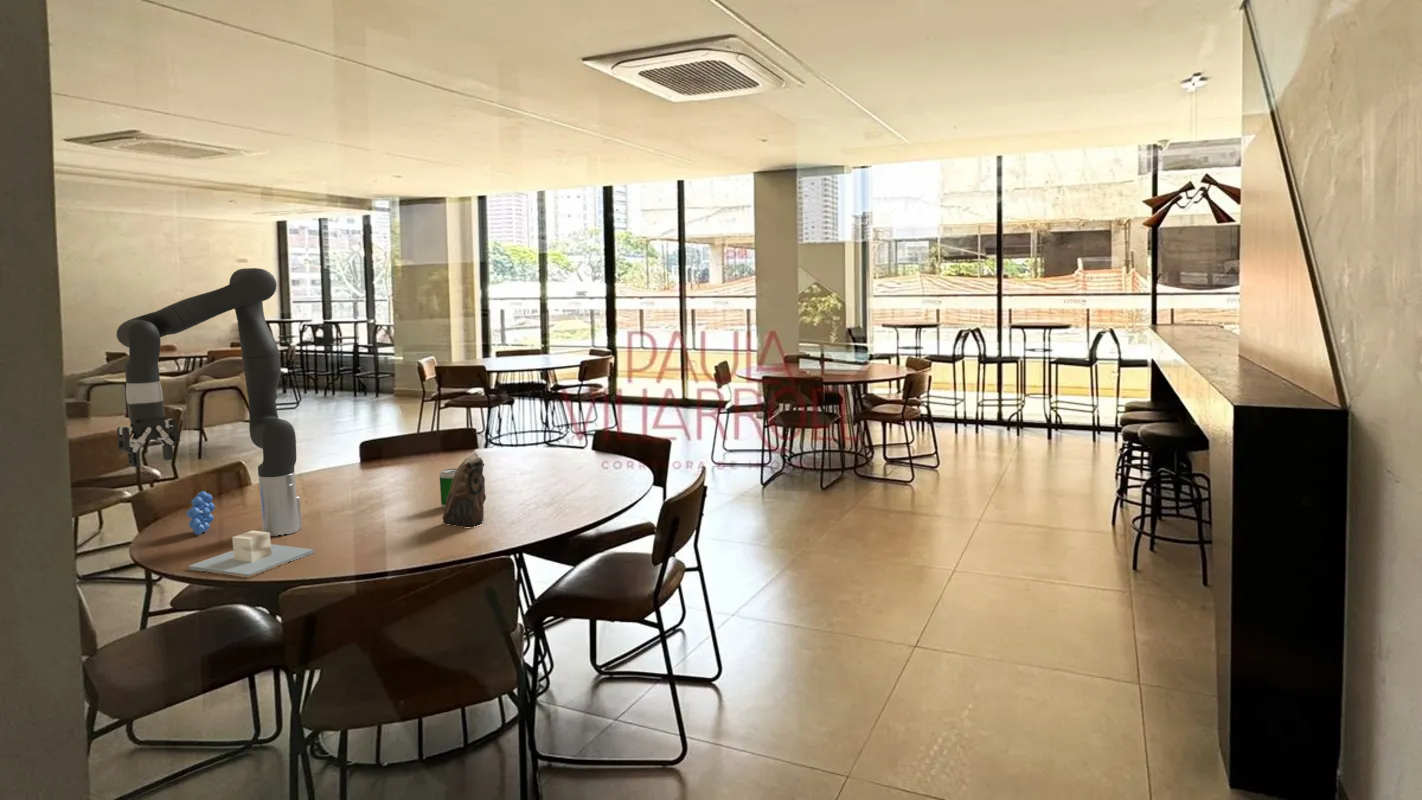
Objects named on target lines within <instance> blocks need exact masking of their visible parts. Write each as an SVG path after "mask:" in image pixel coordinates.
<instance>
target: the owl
mask: <svg viewBox="0 0 1422 800" xmlns="http://www.w3.org/2000/svg"><path fill="white" fill-rule="evenodd" d="M484 466H485V463H484V460H483V459H482V457H480V456H479V455H478V453H476V452H475V453H473V454H470V455H469V456H468V457H466V458H465V459H464V460H463V461H462V462H461V464H460V465H459V466H458V467H457V471H456V472H455V475H454V477H453V480H452V483H451V487H450V491H449V494H448V497H447V499H446V506H445V508H444V513H443V515H442V524H443V523H445V524H444V525H446V524H450V525H449V526H451V525H456V526H455V527H457V526H463V527H462V528H464V527H474V526H477V525H480V524H482V523H483V522H482V521H484V520H483V518H484V513H485V510H484V509H485V508H484V504H485V502H486V499H487V495H486V486H485V482H486V479H485V476H484V474H483V472H484ZM484 519H485V518H484Z"/></svg>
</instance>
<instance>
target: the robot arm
mask: <svg viewBox="0 0 1422 800" xmlns="http://www.w3.org/2000/svg"><path fill="white" fill-rule="evenodd" d="M277 286H278V285H277V280H276V278H275V277H274V275H273V274H272V273H271V272H270V271H268V270H267V269H266V270H265V269H262V268H256V267H251V268H250V267H249V268H247V267H246V268H240V269H237V270H236V271H235V270H234V272H233V273H232V274H231V276H230V278H229V284H227V285H225V286H222V287H220V288H216V289H215V290H211V291H207V292H204V293H201V294H198V295H197V294H196V295H194V296H190V297H188V298H185V299H181V300H180V301H177V302H174V303H172V304H170V305H167V306H165V307H162V308H161V309H159V310H156V311H153V312H150V313H146V314H142V315H140V316H136V317H134V318H133V317H132V318H130V319H128V320H126V321H124V322H123V323H121V324H120V325H119V326H118V328H117V329H116V338H117V340H118V342H119V343H120V344H121V345H123V346H124V347H126V348H129V349H128V350H129V355H128V360H126V362H125V363H124V373H125V374H124V375H125V383H126V385H125V386H126V387H125V388H126V389H125V396H126V404H127V406H126V407H127V413H128V419H129V421H130V425H129V426H118V427H117V428H116V431H117V432H116V433H117V434H116V435H117V449H118V451H119V452H120V451H121V452H126V453H127V457H128V458H127V460H128V465H130V467H132V468H138V467H140V465H141V464H140V463H141V462H140V457H139V452H138V451H139V448H140V447H141V445H142V446H143V444H144V442H147V441H151V440H157V441H159V442H160V443H161V444H162V458H163V460H164V461H170V460H173V457H174V451H173V450H174V448H173V445H174V444H175V443H177V442H179V441H180V432H179V427H178V420H177V419H176V418H166V419H165V415H166V412H165V406H164V405H165V404H164V396H163V395H164V394H163V387H162V384H161V379H160V368H159V360H160V353H161V338H163V337H165V336H170V335H176V334H179V333H183V332H184V331H186V330H189V329H191V328H193V327H194V326H197V325H199V324H202V323H203V322H206V321H208V320H210V319H214V318H215V317H217V316H219V315H222V314H224V313H227V312H229V311H232V310H234V312H235V316H236V320H237V328H238V337H239V343H240V349H241V351H240V352H241V353H240V354H241V361H242V366H243V367H242V368H243V373H244V378H245V379H244V380H245V385H246V392H247V398H248V399H247V400H248V413H249V414H248V415H249V417H248V418H249V428H248V429H249V437H250V440H251V442H252V443H253V445H255V447H257V448H260V449H262V462H261V463H260V464H259V465H258V466H257V474H258V476H257V477H258V486H259V487H258V489H259V497H260V498H259V499H260V500H259V501H260V511H261V520H262V532H269V533H270V537H279V536H278V535H281V536H285V535H284V534H287V535H291V534H294V533H296V532H298V531H299V530H300V529H302V528H303V526H302V525H303V522H302V515H301V514H302V512H301V511H302V510H301V500H300V499H301V498H300V496H299V495H297V488H296V487H297V486H296V485H297V484H296V473H295V466H296V462H297V438H296V431H295V429H294V426H293V425H292V424H291V422H289V421H288V420H285V419H281V418H279V414H278V409H277V403H276V401H277V399H276V396H277V390H278V387H279V383H280V380H281V373H282V370H281V368H282V366H281V358H280V351H279V347H278V344H277V342H276V339H275V338H274V336H273V333H272V331H271V330H270V328H269V326H268V324H267V321H266V318H265V314H264V313H265V312H264V305H263V304H264V303H263V302H265V301H268V300H269V299H271V298H272V297H273V296H274V295H275V293H276V291H277ZM165 428H166V431H167V432H166V431H165V430H164V429H165ZM131 434H132V435H131ZM130 435H131V437H130Z"/></svg>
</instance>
